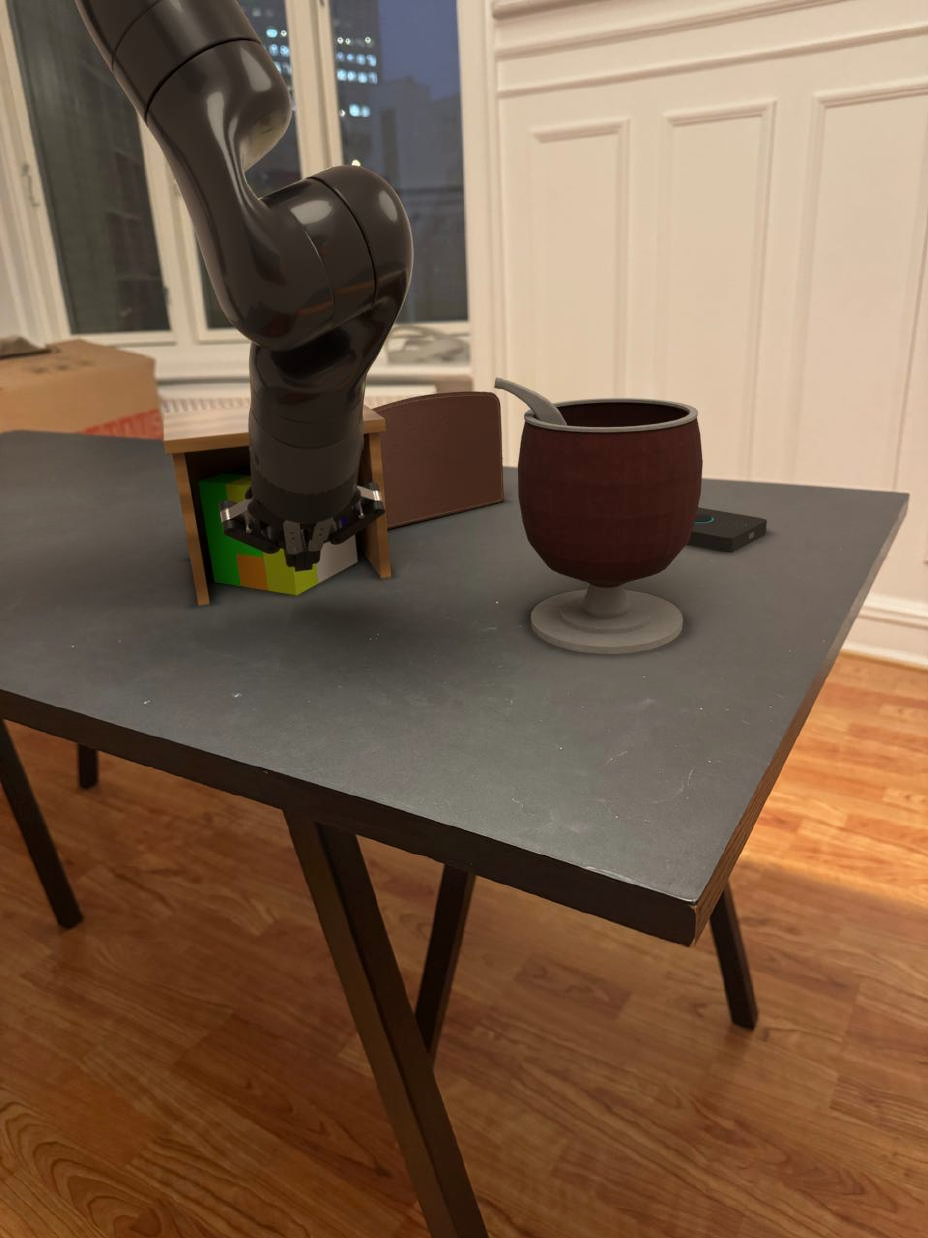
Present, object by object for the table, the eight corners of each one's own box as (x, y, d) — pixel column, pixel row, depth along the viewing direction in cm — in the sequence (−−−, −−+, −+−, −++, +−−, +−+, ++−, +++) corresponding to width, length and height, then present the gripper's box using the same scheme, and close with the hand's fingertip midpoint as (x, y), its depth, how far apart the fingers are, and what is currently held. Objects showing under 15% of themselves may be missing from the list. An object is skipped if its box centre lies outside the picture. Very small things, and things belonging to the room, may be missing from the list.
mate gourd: (672, 589, 79) (683, 356, 71) (712, 655, 66) (731, 380, 59) (498, 596, 79) (491, 365, 72) (505, 663, 67) (497, 391, 59)
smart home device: (731, 537, 86) (566, 506, 99) (730, 554, 87) (566, 521, 100) (770, 517, 92) (608, 490, 105) (768, 533, 92) (608, 504, 105)
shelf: (397, 578, 85) (384, 418, 79) (193, 608, 80) (163, 440, 74) (365, 535, 98) (352, 395, 92) (188, 559, 93) (162, 413, 87)
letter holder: (505, 502, 108) (502, 384, 103) (365, 537, 98) (353, 407, 92) (457, 488, 116) (452, 377, 110) (322, 519, 105) (309, 398, 100)
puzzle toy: (357, 562, 90) (348, 464, 86) (296, 595, 82) (283, 489, 78) (279, 551, 94) (267, 458, 91) (214, 582, 86) (197, 481, 82)
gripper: (388, 390, 63) (367, 513, 79) (197, 408, 60) (215, 533, 75) (412, 479, 61) (386, 588, 76) (214, 503, 57) (229, 613, 73)
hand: (301, 561), depth 76 cm, fingers closed
